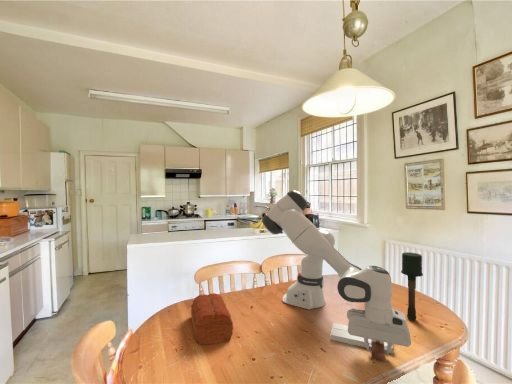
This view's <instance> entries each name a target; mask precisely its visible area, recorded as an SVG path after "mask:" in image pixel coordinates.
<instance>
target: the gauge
mask: <svg viewBox="0 0 512 384" xmlns="http://www.w3.org/2000/svg"><path fill="white" fill-rule="evenodd" d="M370 352H371V355H370V356H371V358H370V360H374V361H377V362H382V363H385V354H384V342H382V341H377V340H372V339H371V351H370Z"/></svg>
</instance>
